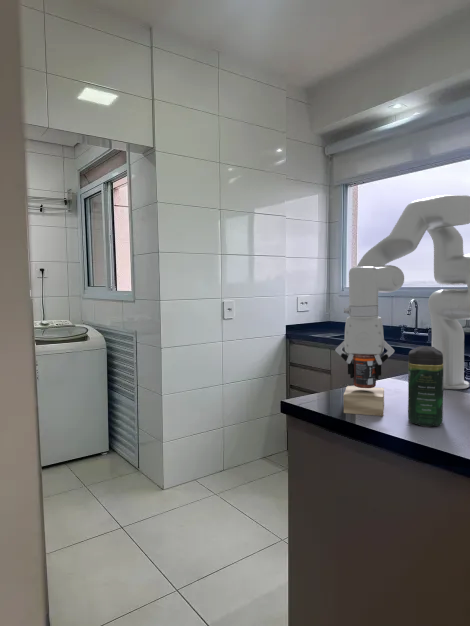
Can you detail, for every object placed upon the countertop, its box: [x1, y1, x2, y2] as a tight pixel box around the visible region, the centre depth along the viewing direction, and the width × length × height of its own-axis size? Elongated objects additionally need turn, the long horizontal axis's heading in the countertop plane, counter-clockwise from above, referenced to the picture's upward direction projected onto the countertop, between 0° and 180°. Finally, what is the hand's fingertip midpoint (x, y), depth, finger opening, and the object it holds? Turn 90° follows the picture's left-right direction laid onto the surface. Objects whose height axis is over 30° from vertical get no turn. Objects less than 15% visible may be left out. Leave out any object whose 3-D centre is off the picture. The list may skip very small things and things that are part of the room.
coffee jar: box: [407, 345, 444, 428], centre depth 103 cm, size 10×8×19 cm
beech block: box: [343, 385, 385, 417], centre depth 115 cm, size 10×10×5 cm
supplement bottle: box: [352, 354, 377, 388], centre depth 114 cm, size 6×6×11 cm
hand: (364, 377), depth 115 cm, fingers closed on supplement bottle, 6 cm apart
